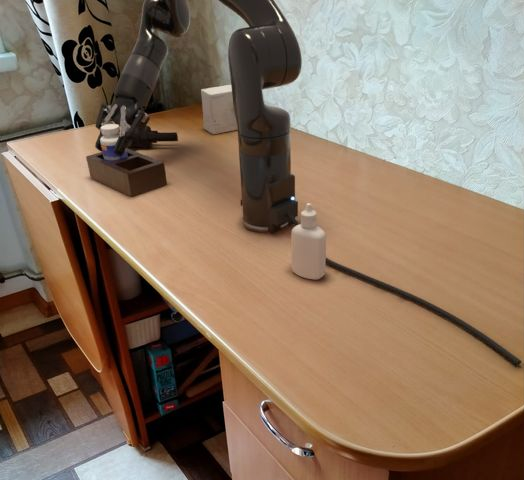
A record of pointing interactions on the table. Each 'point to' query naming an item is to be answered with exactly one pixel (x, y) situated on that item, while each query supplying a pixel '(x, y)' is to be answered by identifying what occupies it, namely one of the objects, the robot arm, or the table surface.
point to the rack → (128, 172)
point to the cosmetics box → (218, 109)
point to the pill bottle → (110, 142)
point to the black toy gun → (151, 138)
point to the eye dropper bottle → (308, 246)
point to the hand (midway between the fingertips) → (108, 151)
